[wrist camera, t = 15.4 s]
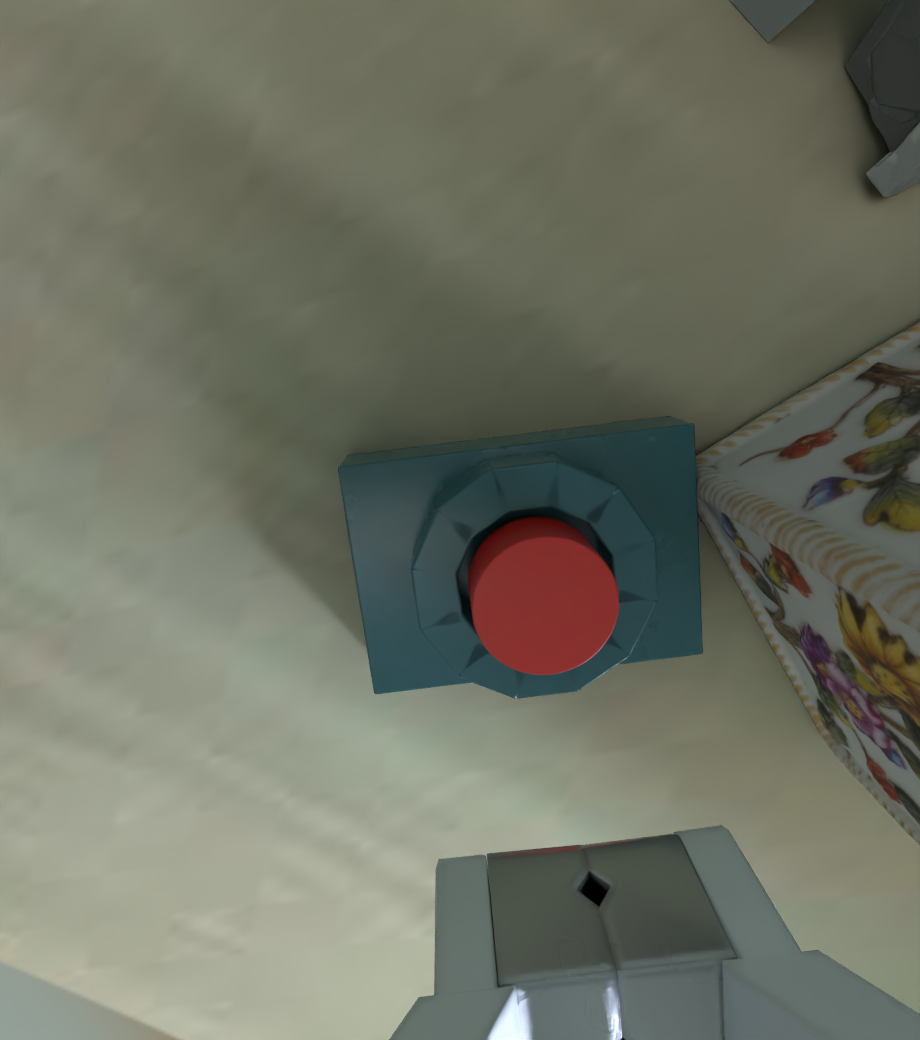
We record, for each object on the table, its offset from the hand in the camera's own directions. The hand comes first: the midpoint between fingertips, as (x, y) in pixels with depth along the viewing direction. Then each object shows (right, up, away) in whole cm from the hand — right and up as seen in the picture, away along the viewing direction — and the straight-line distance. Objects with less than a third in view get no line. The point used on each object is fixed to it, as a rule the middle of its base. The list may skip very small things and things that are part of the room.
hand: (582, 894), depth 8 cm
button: (+1, +2, +12) cm, 12 cm away
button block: (+1, +3, +15) cm, 16 cm away
